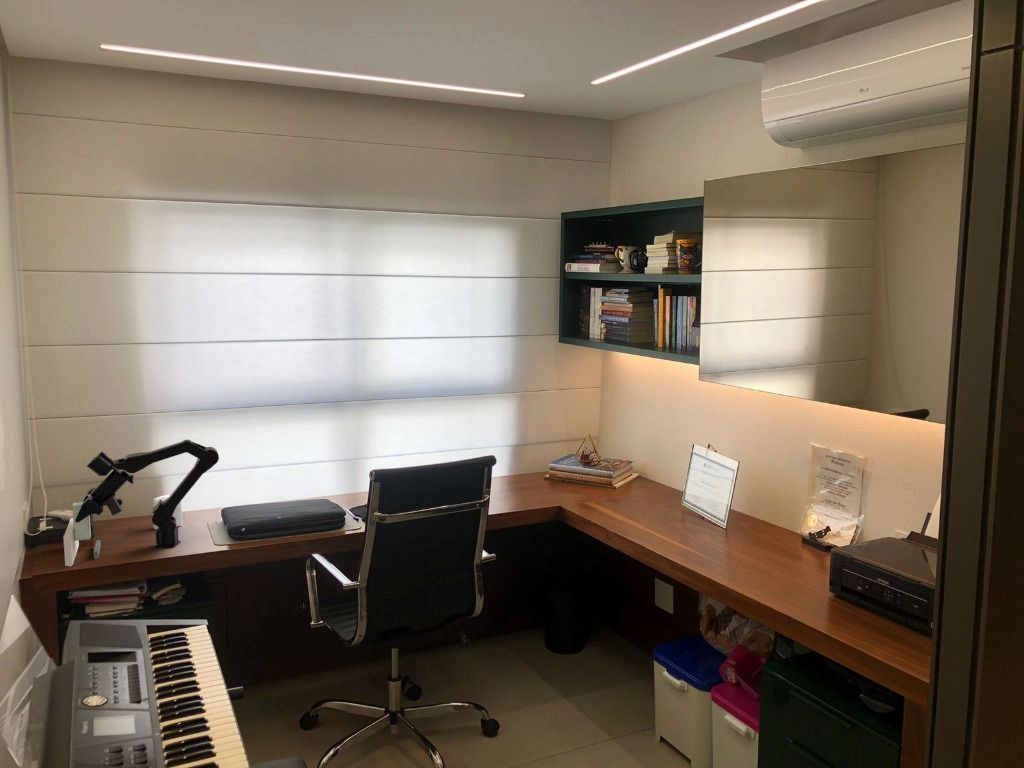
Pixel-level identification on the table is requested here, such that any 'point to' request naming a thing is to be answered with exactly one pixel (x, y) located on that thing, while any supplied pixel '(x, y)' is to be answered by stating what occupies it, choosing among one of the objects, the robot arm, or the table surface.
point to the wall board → (75, 545)
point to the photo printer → (177, 512)
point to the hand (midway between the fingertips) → (76, 520)
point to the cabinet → (81, 524)
